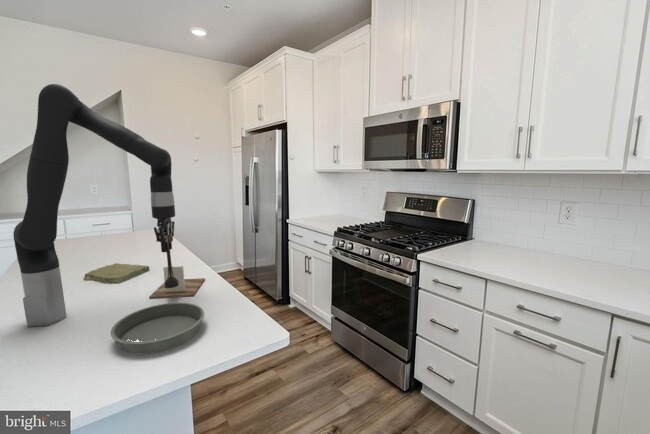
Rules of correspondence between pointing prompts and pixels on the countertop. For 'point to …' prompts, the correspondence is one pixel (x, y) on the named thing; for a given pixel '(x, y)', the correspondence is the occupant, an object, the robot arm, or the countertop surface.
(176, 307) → the cake pan
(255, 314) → the countertop surface
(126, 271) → the olive green flat slab
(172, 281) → the wooden tabletop sculpture
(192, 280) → the walnut board
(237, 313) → the countertop surface
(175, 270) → the glazed tile
